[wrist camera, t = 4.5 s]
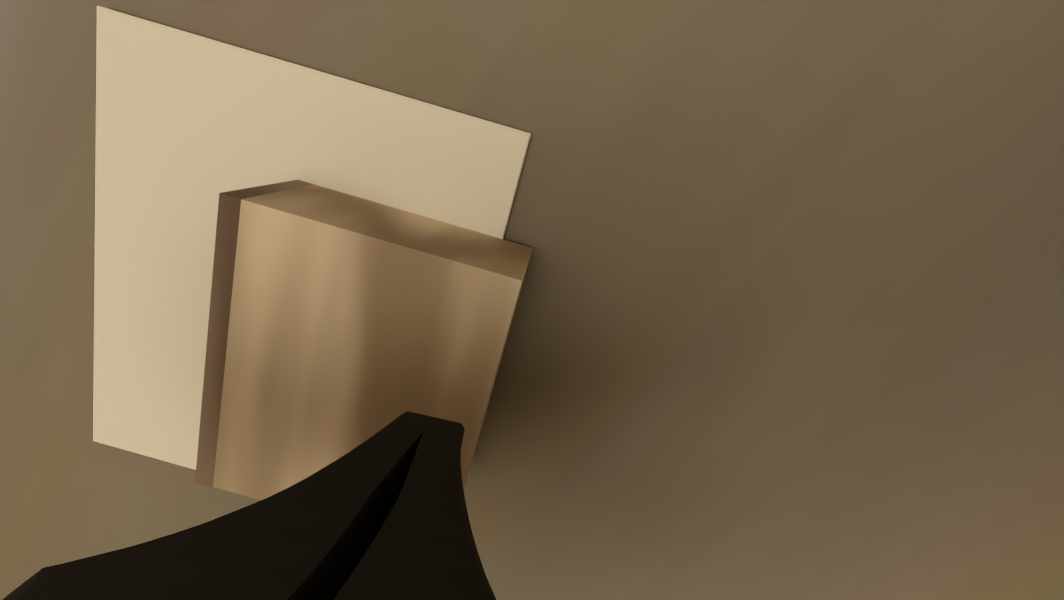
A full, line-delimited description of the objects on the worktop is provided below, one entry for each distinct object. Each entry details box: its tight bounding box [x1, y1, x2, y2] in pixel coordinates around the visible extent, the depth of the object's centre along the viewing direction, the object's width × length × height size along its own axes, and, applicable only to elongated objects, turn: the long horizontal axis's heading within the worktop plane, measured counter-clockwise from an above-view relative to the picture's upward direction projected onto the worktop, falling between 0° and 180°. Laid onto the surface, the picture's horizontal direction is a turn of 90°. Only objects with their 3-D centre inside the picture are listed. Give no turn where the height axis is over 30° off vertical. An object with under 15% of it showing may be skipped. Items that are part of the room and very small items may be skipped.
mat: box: [93, 6, 531, 470], centre depth 16 cm, size 12×14×1 cm
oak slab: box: [195, 180, 533, 500], centre depth 15 cm, size 4×8×7 cm
